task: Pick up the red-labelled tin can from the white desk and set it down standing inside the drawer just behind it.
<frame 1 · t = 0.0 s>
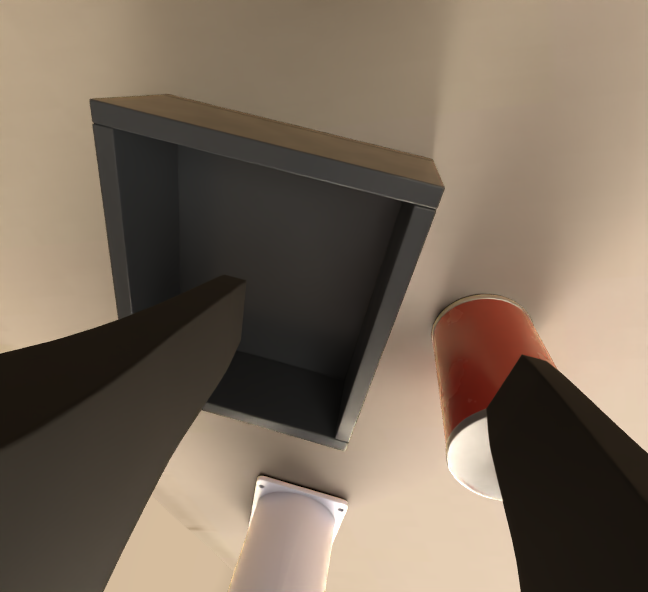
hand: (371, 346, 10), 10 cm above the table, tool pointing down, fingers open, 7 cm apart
tin can: (480, 334, 20), on the table
drawer: (277, 265, 20), on the table
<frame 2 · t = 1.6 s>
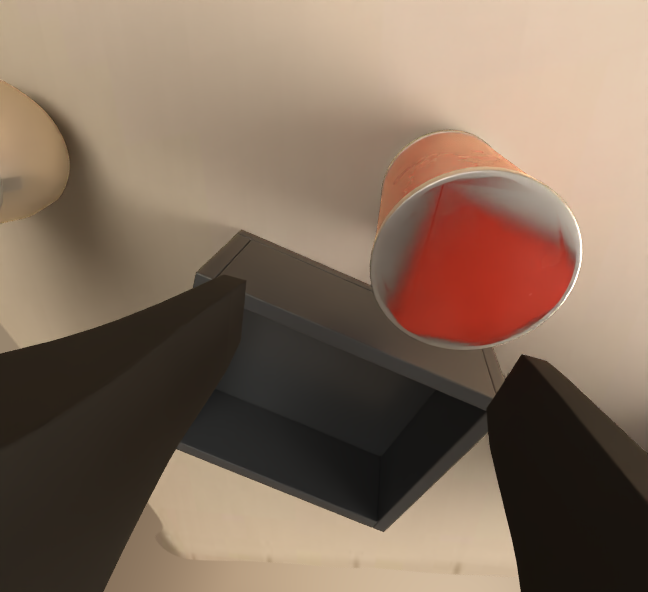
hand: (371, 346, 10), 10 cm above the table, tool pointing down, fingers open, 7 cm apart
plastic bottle: (33, 142, 19), on the table
tin can: (440, 193, 16), on the table
drawer: (325, 362, 23), on the table
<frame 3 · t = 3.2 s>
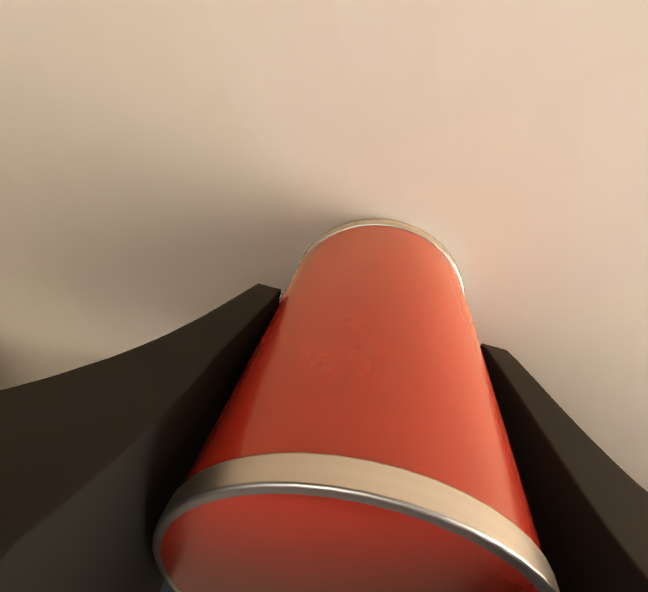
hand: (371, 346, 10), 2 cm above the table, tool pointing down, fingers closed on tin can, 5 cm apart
tin can: (374, 299, 12), on the table, touching gripper
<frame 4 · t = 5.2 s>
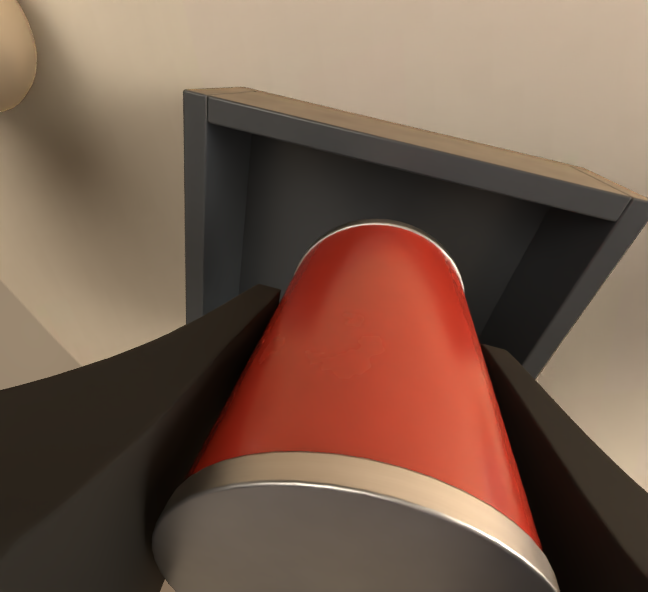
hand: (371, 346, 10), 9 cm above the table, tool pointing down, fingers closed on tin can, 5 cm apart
tin can: (374, 298, 12), point 7 cm above the table, touching gripper
drawer: (370, 259, 18), on the table
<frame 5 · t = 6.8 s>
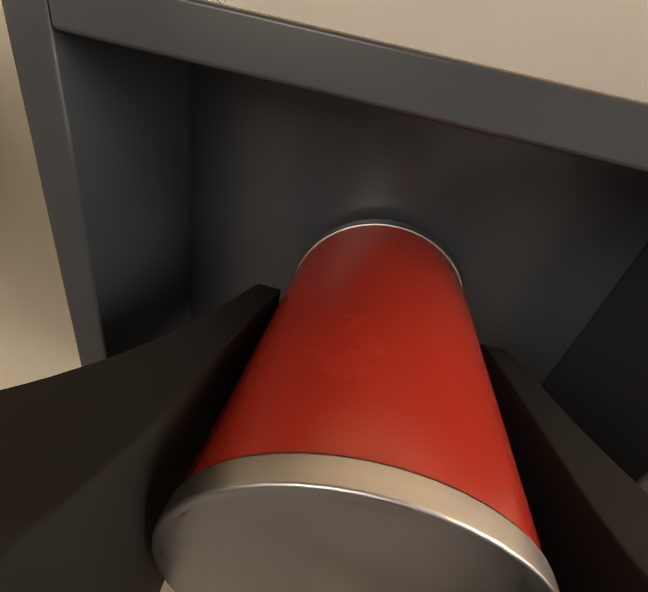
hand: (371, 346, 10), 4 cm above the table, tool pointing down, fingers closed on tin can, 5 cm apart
tin can: (374, 299, 12), point 1 cm above the table, touching gripper
drawer: (377, 282, 13), on the table
when the fingers open (3 cm above the table, at t = 7.5 s): tin can stays where it is, resting on drawer.
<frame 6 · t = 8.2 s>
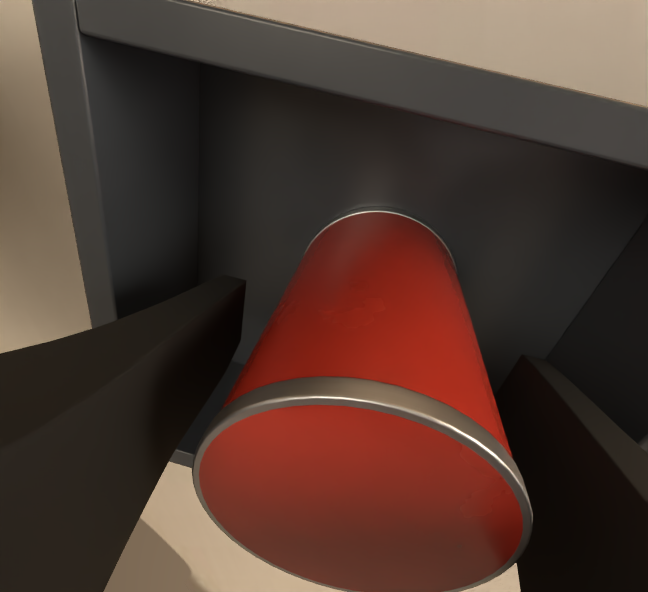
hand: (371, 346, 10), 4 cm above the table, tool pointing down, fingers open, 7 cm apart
tin can: (375, 281, 13), point 1 cm above the table, touching drawer
drawer: (377, 274, 13), on the table
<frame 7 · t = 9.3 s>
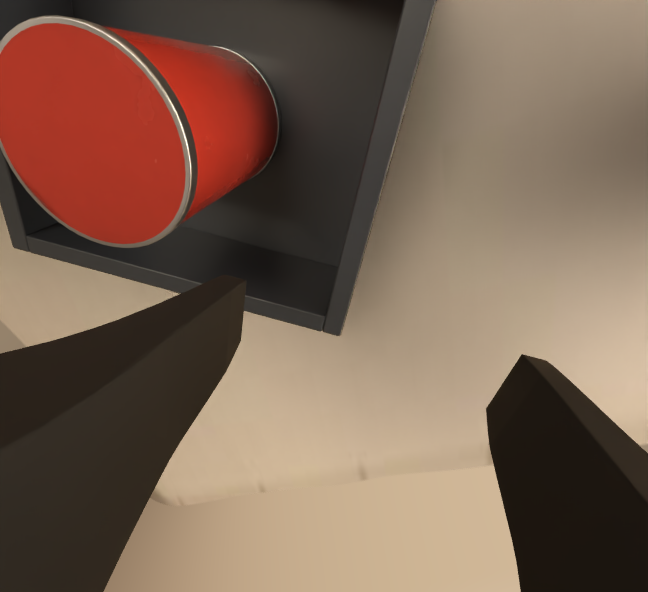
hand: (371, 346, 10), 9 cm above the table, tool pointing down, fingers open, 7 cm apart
tin can: (222, 119, 16), point 1 cm above the table, touching drawer
drawer: (229, 118, 16), on the table
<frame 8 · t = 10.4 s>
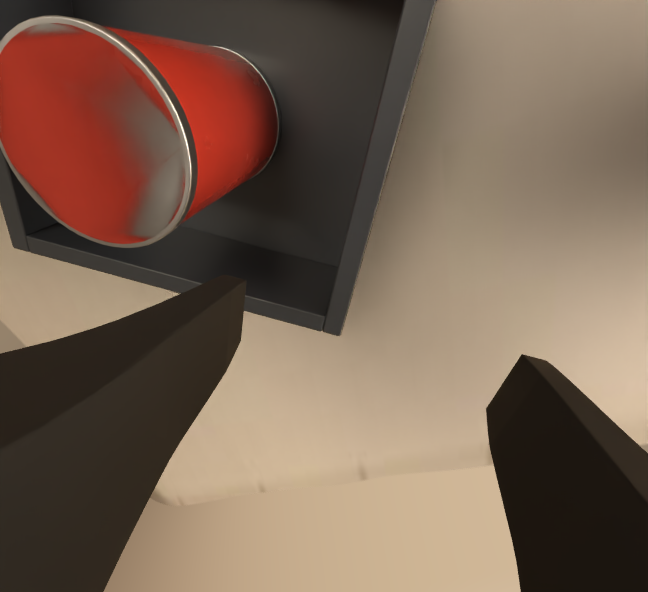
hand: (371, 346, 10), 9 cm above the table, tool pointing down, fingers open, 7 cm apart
tin can: (222, 119, 16), point 1 cm above the table, touching drawer
drawer: (229, 118, 16), on the table
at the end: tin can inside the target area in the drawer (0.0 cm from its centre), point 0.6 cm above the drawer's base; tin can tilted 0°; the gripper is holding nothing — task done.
